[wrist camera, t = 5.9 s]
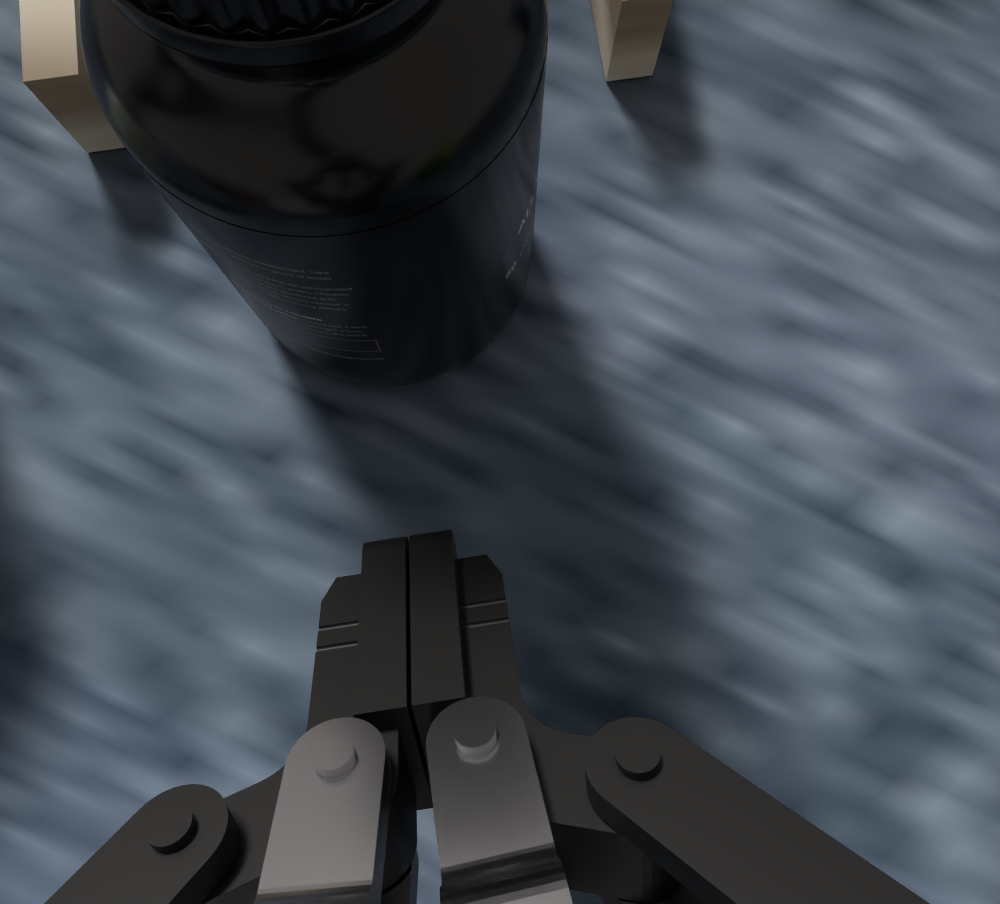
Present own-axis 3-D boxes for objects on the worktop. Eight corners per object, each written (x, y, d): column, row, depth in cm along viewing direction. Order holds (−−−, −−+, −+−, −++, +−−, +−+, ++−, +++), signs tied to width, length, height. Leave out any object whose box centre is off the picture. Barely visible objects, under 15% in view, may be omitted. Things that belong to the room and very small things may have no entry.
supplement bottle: (586, 293, 20) (711, -177, 8) (346, 447, 19) (93, 180, 7) (432, 82, 21) (341, -604, 9) (200, 220, 20) (-225, -329, 8)
